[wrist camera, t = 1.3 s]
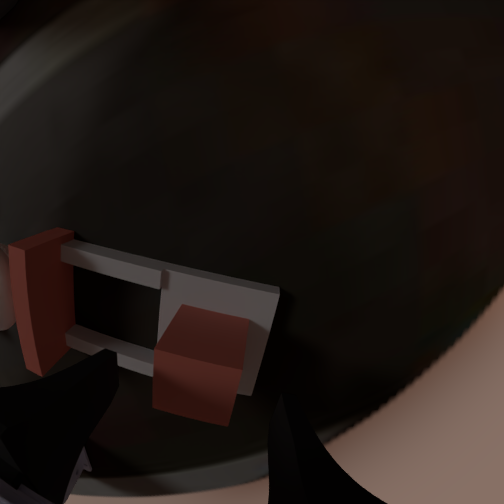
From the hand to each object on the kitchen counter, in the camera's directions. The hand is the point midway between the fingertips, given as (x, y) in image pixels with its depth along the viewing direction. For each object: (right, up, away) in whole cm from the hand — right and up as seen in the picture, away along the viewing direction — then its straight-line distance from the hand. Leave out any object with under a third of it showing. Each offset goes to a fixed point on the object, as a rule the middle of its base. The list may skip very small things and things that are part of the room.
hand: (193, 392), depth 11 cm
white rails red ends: (-4, +2, +5) cm, 7 cm away
